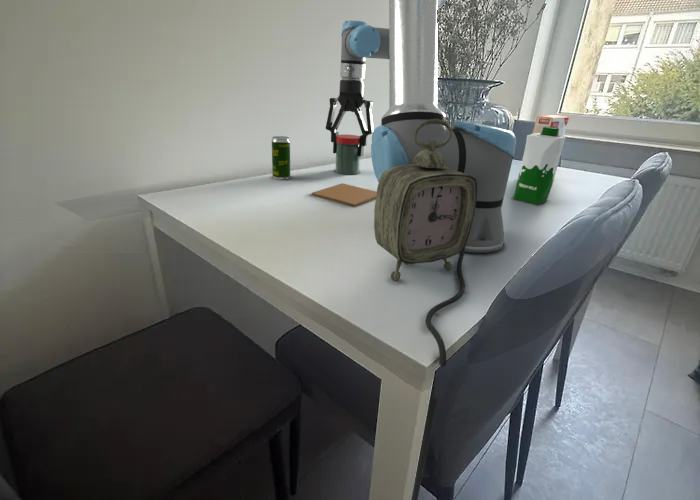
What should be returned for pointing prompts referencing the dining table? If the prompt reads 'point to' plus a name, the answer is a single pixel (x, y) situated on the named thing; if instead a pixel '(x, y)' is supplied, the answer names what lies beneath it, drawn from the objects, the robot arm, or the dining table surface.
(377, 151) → the robot arm
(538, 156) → the milk carton
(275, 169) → the beer can
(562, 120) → the cracker box
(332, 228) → the dining table surface
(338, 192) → the mat
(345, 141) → the lid
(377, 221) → the tabletop clock
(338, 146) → the jar
